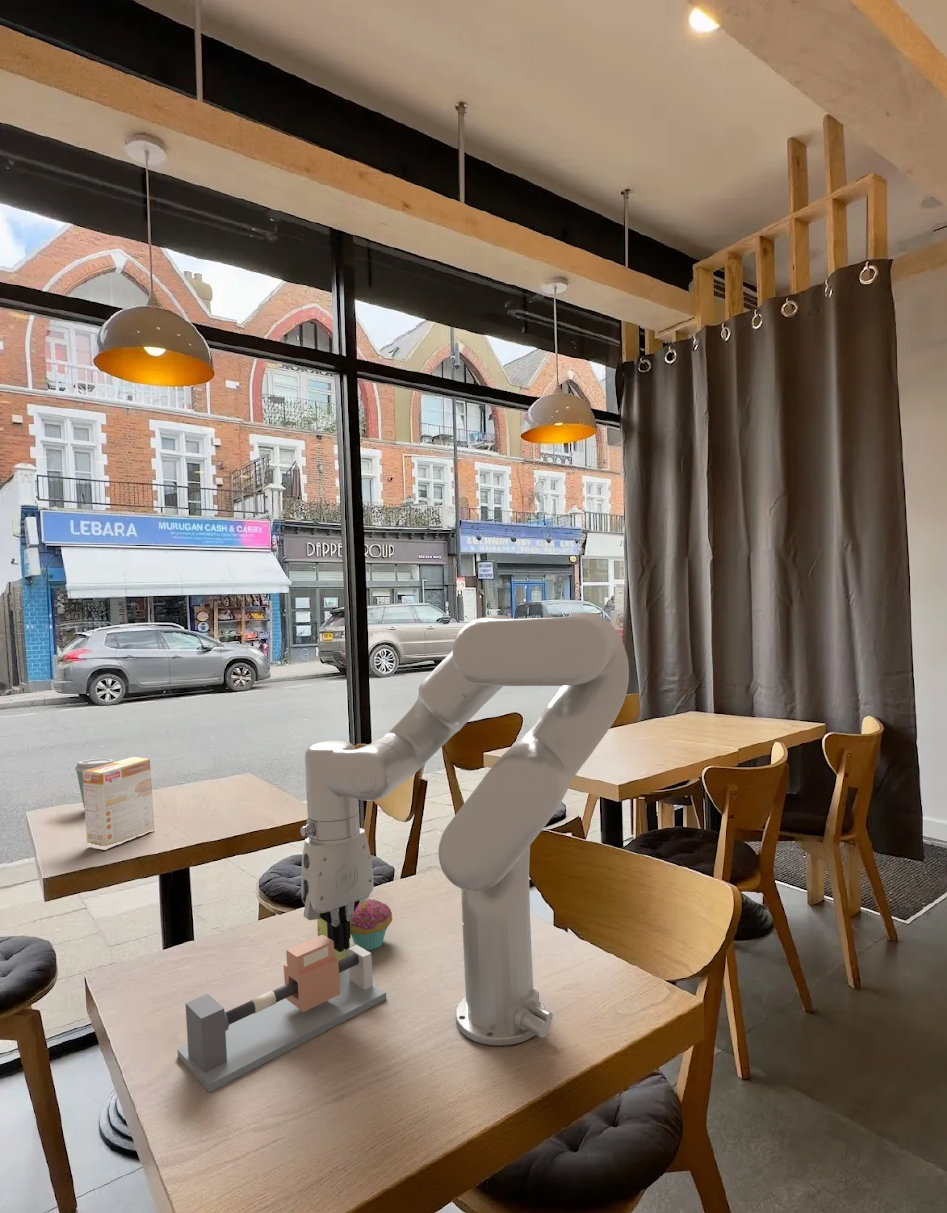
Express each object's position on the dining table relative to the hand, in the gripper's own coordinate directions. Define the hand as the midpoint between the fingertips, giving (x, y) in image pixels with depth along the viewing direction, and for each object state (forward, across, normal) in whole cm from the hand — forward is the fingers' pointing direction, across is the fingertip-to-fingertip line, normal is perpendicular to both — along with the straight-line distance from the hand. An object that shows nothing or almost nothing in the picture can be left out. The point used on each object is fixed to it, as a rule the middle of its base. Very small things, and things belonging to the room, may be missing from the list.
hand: (339, 947), depth 108 cm
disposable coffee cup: (+9, +3, +137) cm, 137 cm away
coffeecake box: (+9, 0, +104) cm, 104 cm away
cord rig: (+8, -9, 0) cm, 12 cm away
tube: (+8, +5, +11) cm, 15 cm away
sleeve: (+5, -5, 0) cm, 7 cm away
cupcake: (+8, +12, +11) cm, 18 cm away
